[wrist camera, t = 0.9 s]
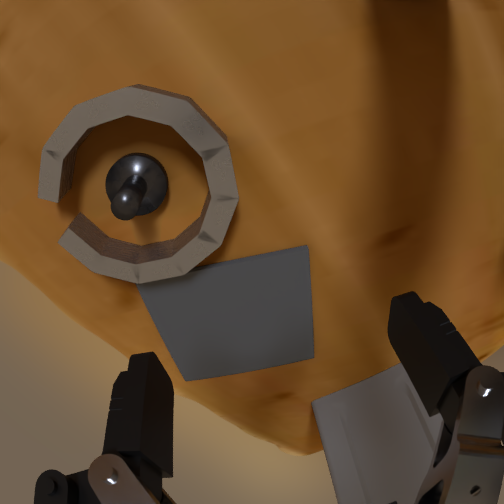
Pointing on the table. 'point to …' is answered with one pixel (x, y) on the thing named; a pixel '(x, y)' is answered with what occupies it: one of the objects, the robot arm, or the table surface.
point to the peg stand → (136, 185)
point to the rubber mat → (236, 314)
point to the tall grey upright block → (377, 439)
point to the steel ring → (161, 253)
